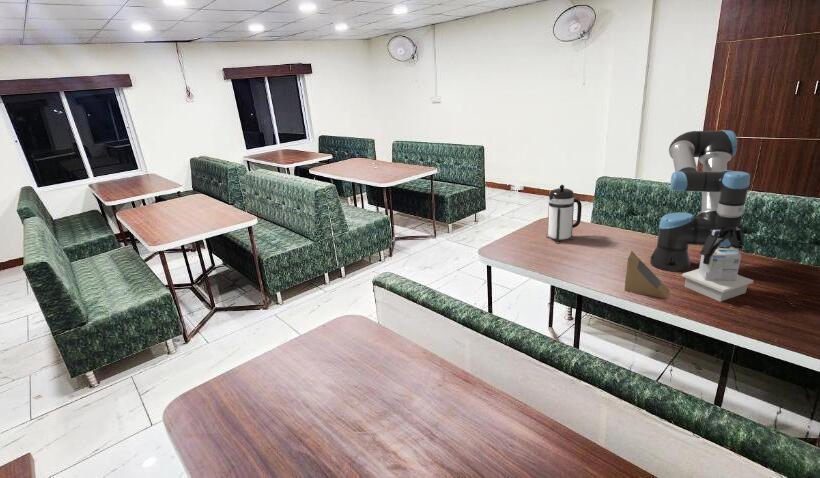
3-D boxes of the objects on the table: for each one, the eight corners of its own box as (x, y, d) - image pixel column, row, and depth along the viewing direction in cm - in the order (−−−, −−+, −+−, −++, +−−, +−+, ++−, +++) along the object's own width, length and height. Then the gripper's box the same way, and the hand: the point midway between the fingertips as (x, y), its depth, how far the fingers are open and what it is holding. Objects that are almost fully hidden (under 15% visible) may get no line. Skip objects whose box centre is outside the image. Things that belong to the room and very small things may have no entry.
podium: (680, 286, 164) (682, 273, 162) (708, 277, 169) (710, 265, 167) (720, 303, 150) (723, 290, 148) (750, 293, 155) (753, 280, 153)
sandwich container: (668, 299, 156) (674, 263, 151) (624, 291, 165) (627, 257, 159) (669, 289, 163) (675, 255, 158) (626, 282, 171) (630, 249, 166)
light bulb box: (727, 273, 160) (733, 247, 156) (737, 280, 154) (742, 254, 150) (697, 272, 162) (701, 247, 158) (705, 280, 156) (709, 254, 152)
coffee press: (572, 245, 212) (576, 189, 201) (541, 241, 220) (543, 187, 210) (580, 234, 225) (583, 181, 215) (550, 231, 234) (552, 179, 223)
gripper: (715, 223, 142) (705, 278, 149) (763, 211, 149) (751, 263, 157) (694, 218, 149) (685, 270, 156) (741, 206, 156) (730, 257, 164)
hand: (718, 267), depth 156 cm, fingers open, 13 cm apart
